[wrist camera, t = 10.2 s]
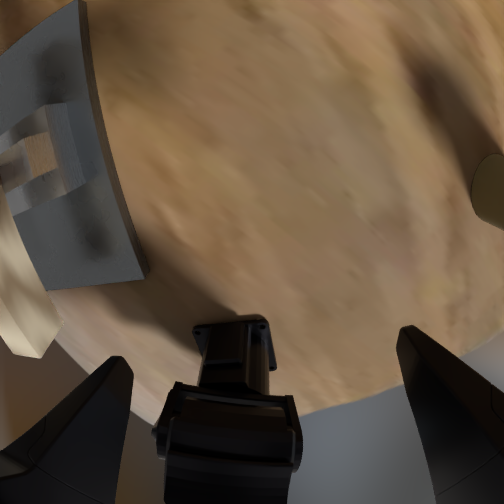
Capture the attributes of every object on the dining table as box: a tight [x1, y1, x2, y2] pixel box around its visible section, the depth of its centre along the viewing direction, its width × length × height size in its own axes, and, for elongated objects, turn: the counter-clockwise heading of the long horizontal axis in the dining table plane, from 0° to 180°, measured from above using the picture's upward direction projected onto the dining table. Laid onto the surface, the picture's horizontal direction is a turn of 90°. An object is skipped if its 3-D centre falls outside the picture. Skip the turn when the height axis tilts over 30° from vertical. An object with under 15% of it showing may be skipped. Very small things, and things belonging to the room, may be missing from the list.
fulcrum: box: [0, 0, 150, 291], centre depth 14 cm, size 22×14×6 cm, turn 10°
